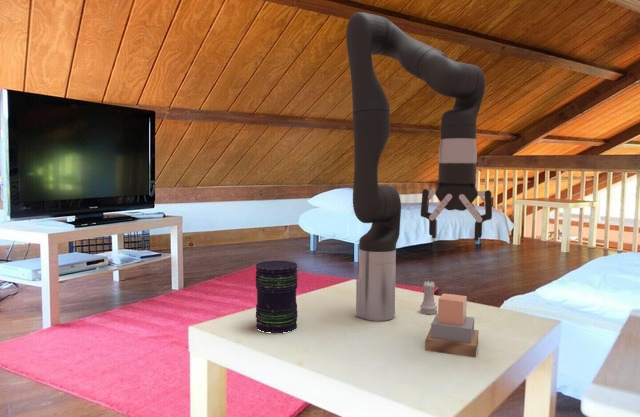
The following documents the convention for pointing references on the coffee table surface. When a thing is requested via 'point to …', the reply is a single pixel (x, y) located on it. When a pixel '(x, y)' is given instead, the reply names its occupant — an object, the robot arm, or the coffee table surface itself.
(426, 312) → the rook chess piece
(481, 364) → the coffee table surface
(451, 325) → the slate top block
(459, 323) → the terracotta cube
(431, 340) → the walnut base slab
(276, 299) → the storage jar
